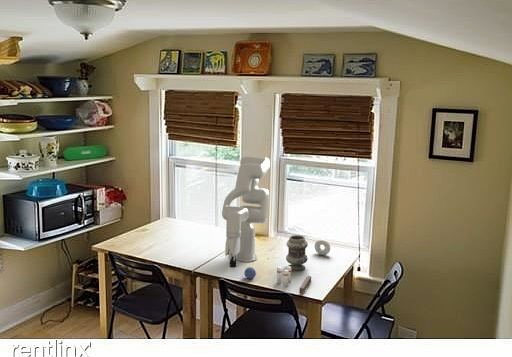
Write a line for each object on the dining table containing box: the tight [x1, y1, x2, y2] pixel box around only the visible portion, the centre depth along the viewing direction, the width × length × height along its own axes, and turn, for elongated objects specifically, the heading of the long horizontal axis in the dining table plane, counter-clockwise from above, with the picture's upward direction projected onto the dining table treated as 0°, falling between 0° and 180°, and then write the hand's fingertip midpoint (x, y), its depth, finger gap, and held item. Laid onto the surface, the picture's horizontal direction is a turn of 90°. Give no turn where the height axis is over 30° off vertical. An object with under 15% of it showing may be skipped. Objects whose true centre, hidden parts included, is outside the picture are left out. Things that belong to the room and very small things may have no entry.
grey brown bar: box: [298, 275, 312, 295], centre depth 250 cm, size 2×16×3 cm, turn 160°
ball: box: [244, 266, 257, 280], centre depth 259 cm, size 6×6×6 cm
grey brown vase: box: [285, 234, 309, 272], centre depth 273 cm, size 12×12×18 cm
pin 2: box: [285, 265, 292, 284], centre depth 255 cm, size 2×2×8 cm
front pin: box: [276, 266, 283, 285], centre depth 254 cm, size 2×2×8 cm
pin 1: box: [282, 269, 289, 288], centre depth 250 cm, size 2×2×8 cm
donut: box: [314, 238, 331, 256], centre depth 294 cm, size 10×4×10 cm, turn 57°
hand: (232, 267), depth 261 cm, fingers closed
